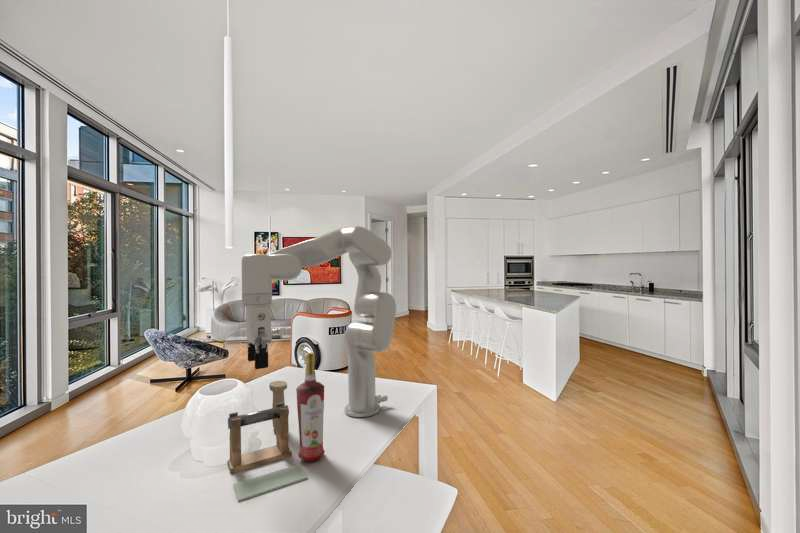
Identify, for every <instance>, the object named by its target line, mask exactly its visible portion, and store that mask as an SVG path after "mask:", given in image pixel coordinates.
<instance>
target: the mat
mask: <svg viewBox="0 0 800 533" xmlns="http://www.w3.org/2000/svg"><path fill="white" fill-rule="evenodd" d="M305 480H308V476H307V474H306V473H305V471H304V470H303V468H302V466H301V465H300V464H299V463H297V464H295V465H292V466H287V467H285V468H282V469H278V470H275V471H272V472H269V473H266V474H263V475H258V476H256V477H252V478H248V479H246V480H243V481H239V482H237V483H234V484H233V488H234V493H235V495H236V496H235V497H236V498H237V502H239V503H240V502H242V501H245V500H247V499H251V498H254V497H257V496H259V495H263V494H266V493H269V492H271V491H274V490H279V489H281V488H283V487H287V486H289V485H292V484H293V485H294V484H296V483H299V482H302V481H305Z"/></svg>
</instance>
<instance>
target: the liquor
mask: <svg viewBox="0 0 800 533" xmlns="http://www.w3.org/2000/svg"><path fill="white" fill-rule="evenodd" d="M304 362H305V371H304V372H305V374H304V382H302V383H301V384H299V385H298V386H297V387H296V405H297V406H296V407H297V408H296V409H297V421H298V435H299V452H298V454H297V456H298V458H299V459H301V460H302V461H303V462H305V463H314V462H317V461H319V460H320V459H321V458H322V457H323V455H324V454H325V449H324V412H325V411H324V409H325V385H324V384H322V383H321V382H320V381H317V377H316V371H315V370H316V369H315V362H316V352H305V353H304Z"/></svg>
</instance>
